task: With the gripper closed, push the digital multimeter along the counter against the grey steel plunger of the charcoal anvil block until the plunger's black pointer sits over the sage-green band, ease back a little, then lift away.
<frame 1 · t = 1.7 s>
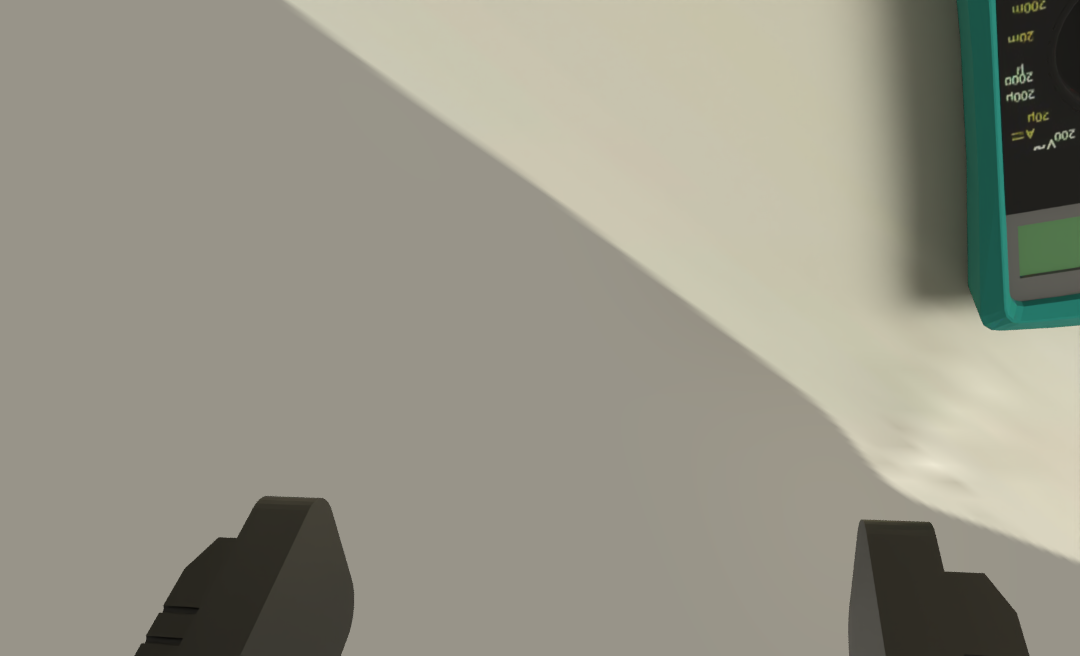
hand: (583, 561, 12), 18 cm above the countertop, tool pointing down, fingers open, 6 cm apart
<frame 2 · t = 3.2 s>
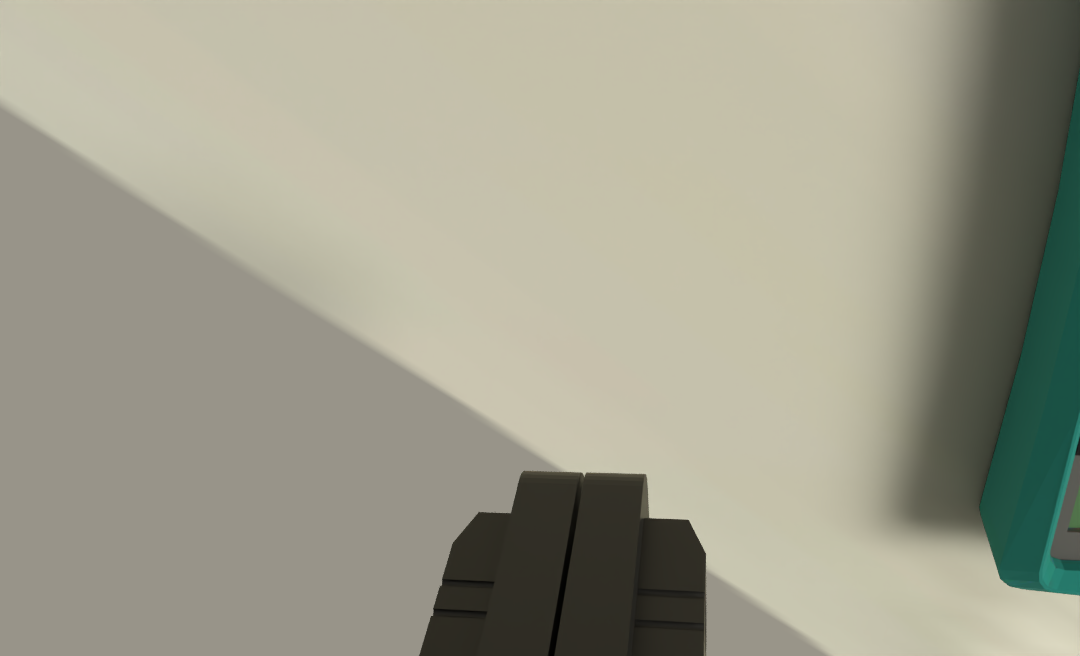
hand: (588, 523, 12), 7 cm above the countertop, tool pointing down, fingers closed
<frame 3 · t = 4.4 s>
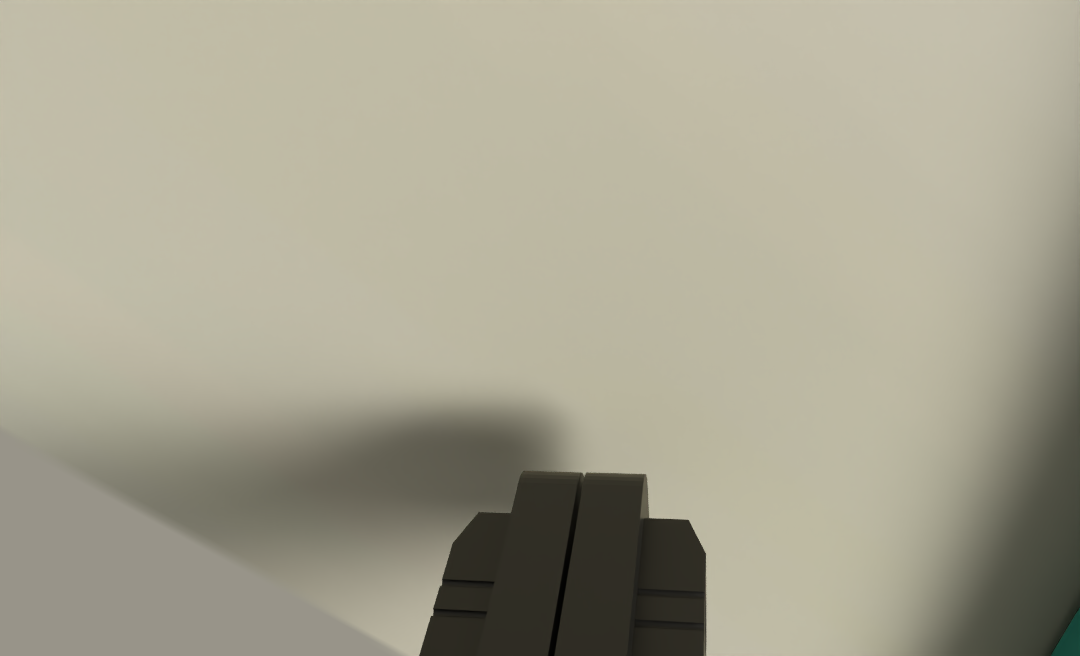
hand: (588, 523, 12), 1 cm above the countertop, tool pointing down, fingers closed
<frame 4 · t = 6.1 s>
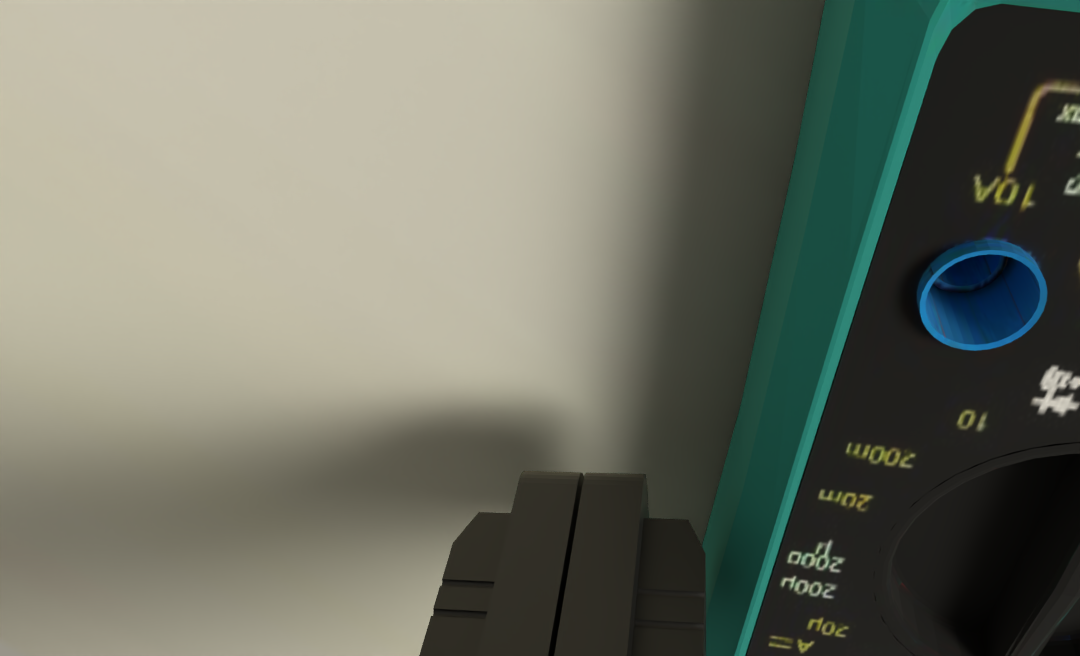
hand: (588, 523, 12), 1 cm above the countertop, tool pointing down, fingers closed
digital multimeter: (993, 443, 13), on the countertop, touching gripper
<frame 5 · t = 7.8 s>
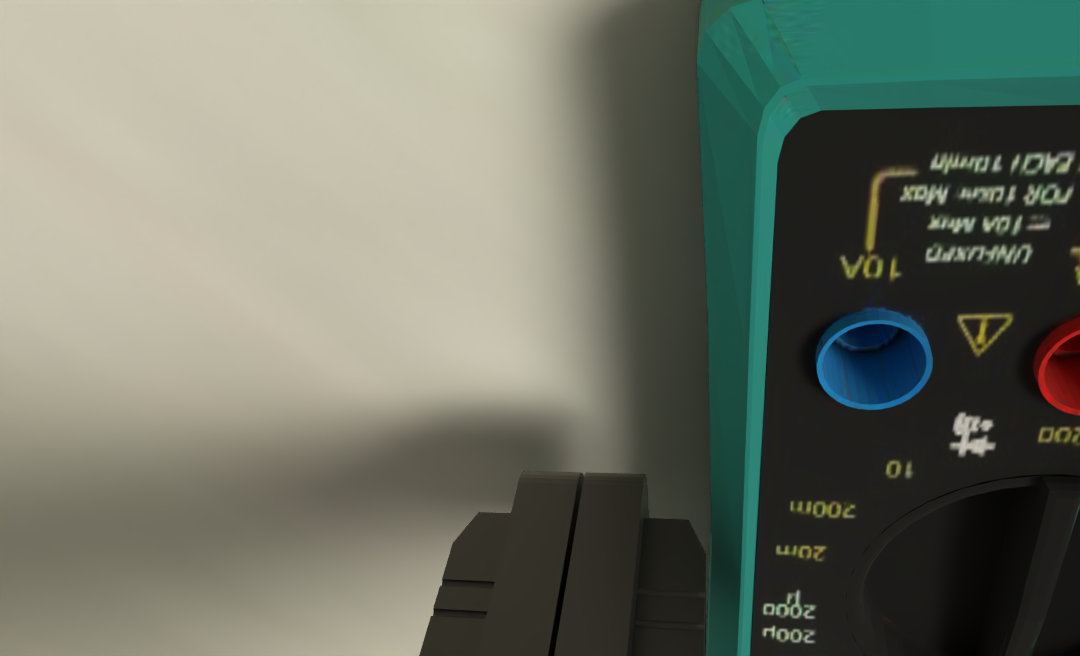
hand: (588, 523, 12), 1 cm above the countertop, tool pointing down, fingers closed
digital multimeter: (972, 468, 14), on the countertop, touching gripper
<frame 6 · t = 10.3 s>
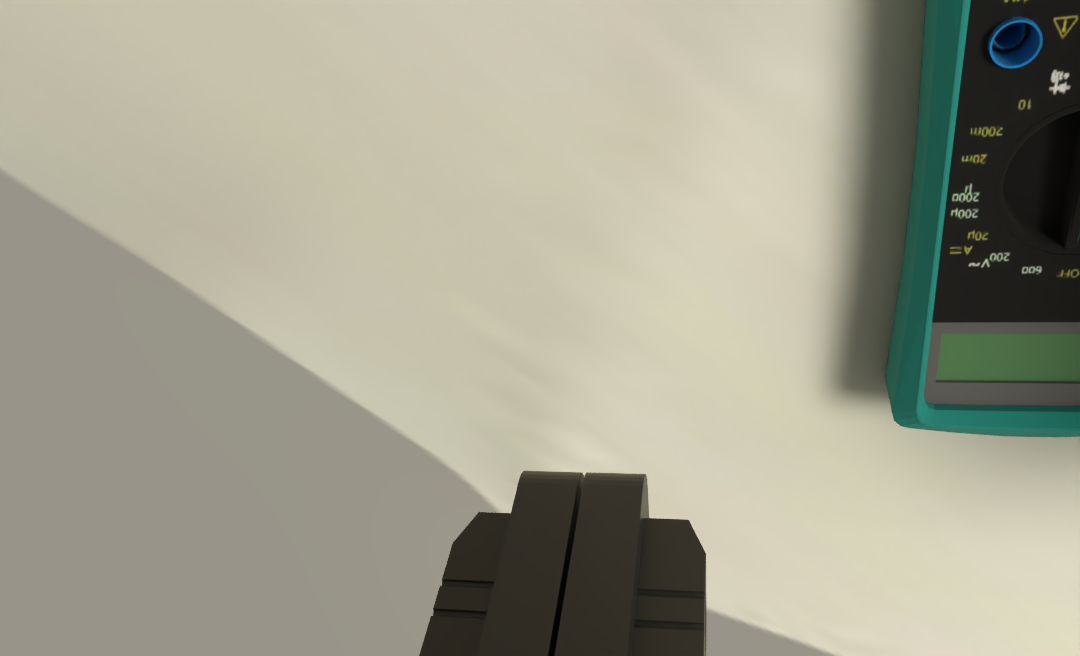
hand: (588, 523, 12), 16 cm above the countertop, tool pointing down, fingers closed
digital multimeter: (1053, 149, 25), on the countertop
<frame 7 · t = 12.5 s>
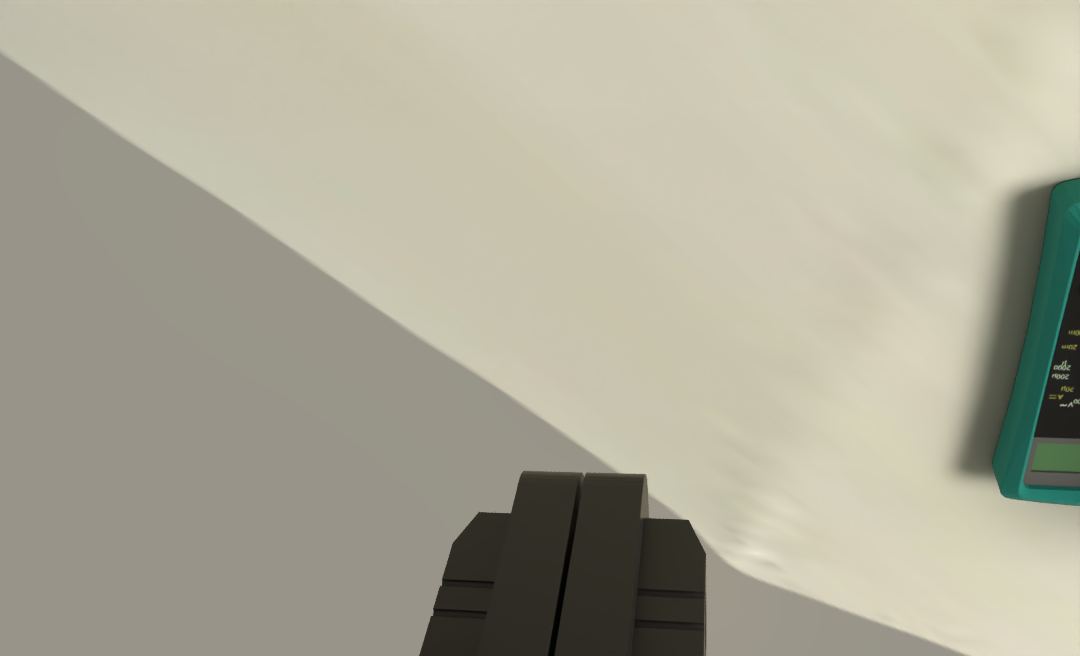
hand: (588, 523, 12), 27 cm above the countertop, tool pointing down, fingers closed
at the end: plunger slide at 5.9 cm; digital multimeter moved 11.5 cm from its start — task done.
